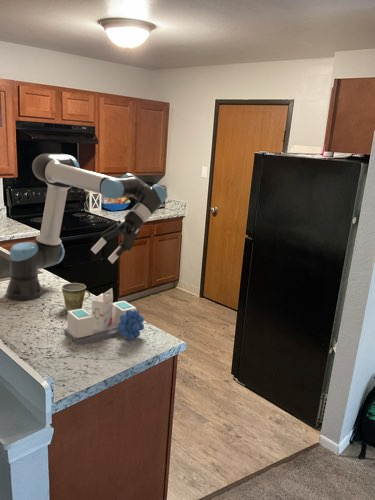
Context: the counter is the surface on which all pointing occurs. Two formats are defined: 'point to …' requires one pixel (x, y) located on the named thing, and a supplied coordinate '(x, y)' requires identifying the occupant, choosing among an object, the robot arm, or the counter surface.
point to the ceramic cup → (74, 295)
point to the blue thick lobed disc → (131, 324)
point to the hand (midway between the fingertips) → (101, 256)
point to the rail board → (83, 324)
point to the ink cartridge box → (102, 310)
